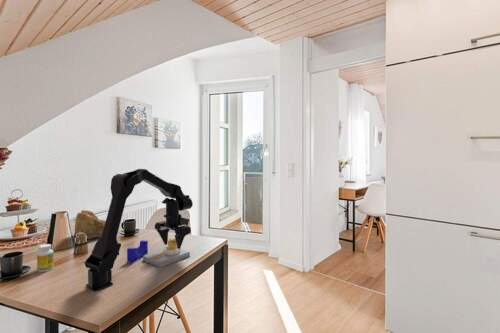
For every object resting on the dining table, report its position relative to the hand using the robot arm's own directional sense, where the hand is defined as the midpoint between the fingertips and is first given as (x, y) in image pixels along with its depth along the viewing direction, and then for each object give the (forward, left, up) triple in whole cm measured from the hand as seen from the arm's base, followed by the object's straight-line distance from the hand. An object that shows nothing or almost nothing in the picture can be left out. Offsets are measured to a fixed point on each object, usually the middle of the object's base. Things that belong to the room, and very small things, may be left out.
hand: (172, 246), depth 128 cm
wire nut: (0, 0, -2) cm, 3 cm away
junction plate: (-3, 0, -4) cm, 5 cm away
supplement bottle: (-40, +28, -5) cm, 49 cm away
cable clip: (-10, +12, -5) cm, 17 cm away
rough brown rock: (-8, +59, -5) cm, 60 cm away
